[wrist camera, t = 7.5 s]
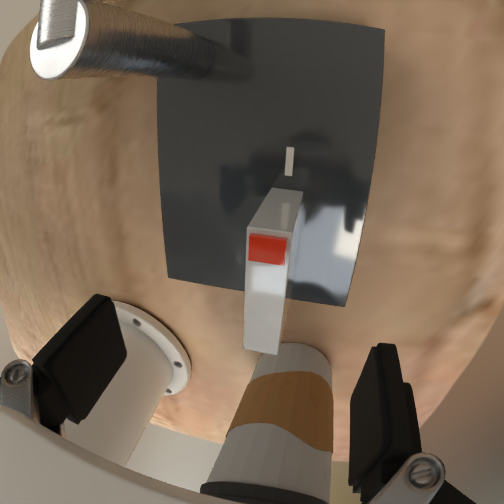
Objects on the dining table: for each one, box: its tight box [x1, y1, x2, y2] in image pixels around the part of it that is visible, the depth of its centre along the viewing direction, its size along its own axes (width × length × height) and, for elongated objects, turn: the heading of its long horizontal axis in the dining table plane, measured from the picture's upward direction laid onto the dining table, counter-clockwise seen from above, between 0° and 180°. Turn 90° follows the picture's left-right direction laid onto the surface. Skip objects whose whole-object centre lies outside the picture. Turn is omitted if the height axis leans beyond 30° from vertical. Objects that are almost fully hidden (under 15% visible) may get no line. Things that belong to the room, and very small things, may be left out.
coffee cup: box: [200, 343, 333, 504], centre depth 19 cm, size 8×8×15 cm
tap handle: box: [243, 188, 304, 355], centre depth 14 cm, size 6×2×5 cm, turn 178°
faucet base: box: [157, 18, 385, 307], centre depth 17 cm, size 17×11×4 cm, turn 178°
